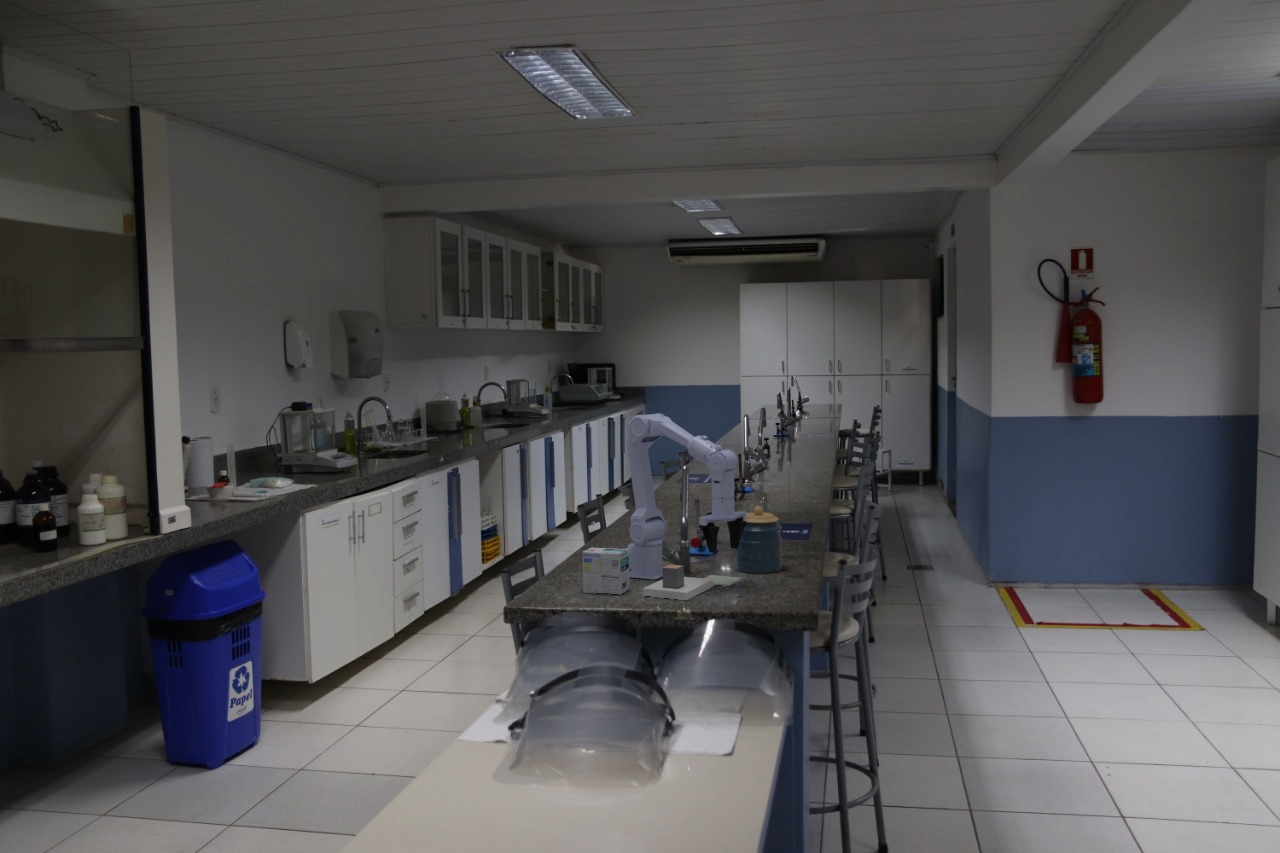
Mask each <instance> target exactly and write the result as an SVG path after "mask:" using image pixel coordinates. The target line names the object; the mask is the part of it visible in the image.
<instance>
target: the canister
mask: <svg viewBox="0 0 1280 853" xmlns="http://www.w3.org/2000/svg"><path fill="white" fill-rule="evenodd" d="M744 521H747V525H746V527H745V528H744V530H743V532H742V535H741V538H740V542H739V546H738V549H735V567H736V570H737V571H739V572H742V573H746V574H747V573H748V574H771V573H776V572H780V571H781V570H782V567H783V559H782V557H783V556H782V552H783V551H782V550H783V549H782V546H783V545H782V542H783V538H782V536H781V530H782V529H783V527H782V525H781V524H779V523H778V521H780V518H779V517H777V516H776V515H775V514H774V513H771V512H764V509H763V507H762V506H760V505H758V506H757V505H756V506H755V507H754V508H753V512H746V519H745V520H744Z"/></svg>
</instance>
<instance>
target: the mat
mask: <svg viewBox="0 0 1280 853" xmlns="http://www.w3.org/2000/svg"><path fill="white" fill-rule="evenodd" d="M703 579H713V586H716V585H722V586H721V587H727V586H729V587H731V586H733V585H734V583H735V584H736V583H738V582H740V581H742V579H743V578H742V577H740V576H739V577H738V576H727V575H726V576H725V575H718V574H717V575H716V574H715V575H714V574H709V575H707V576H706V577H703ZM732 584H733V585H732ZM730 585H731V586H730Z"/></svg>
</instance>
